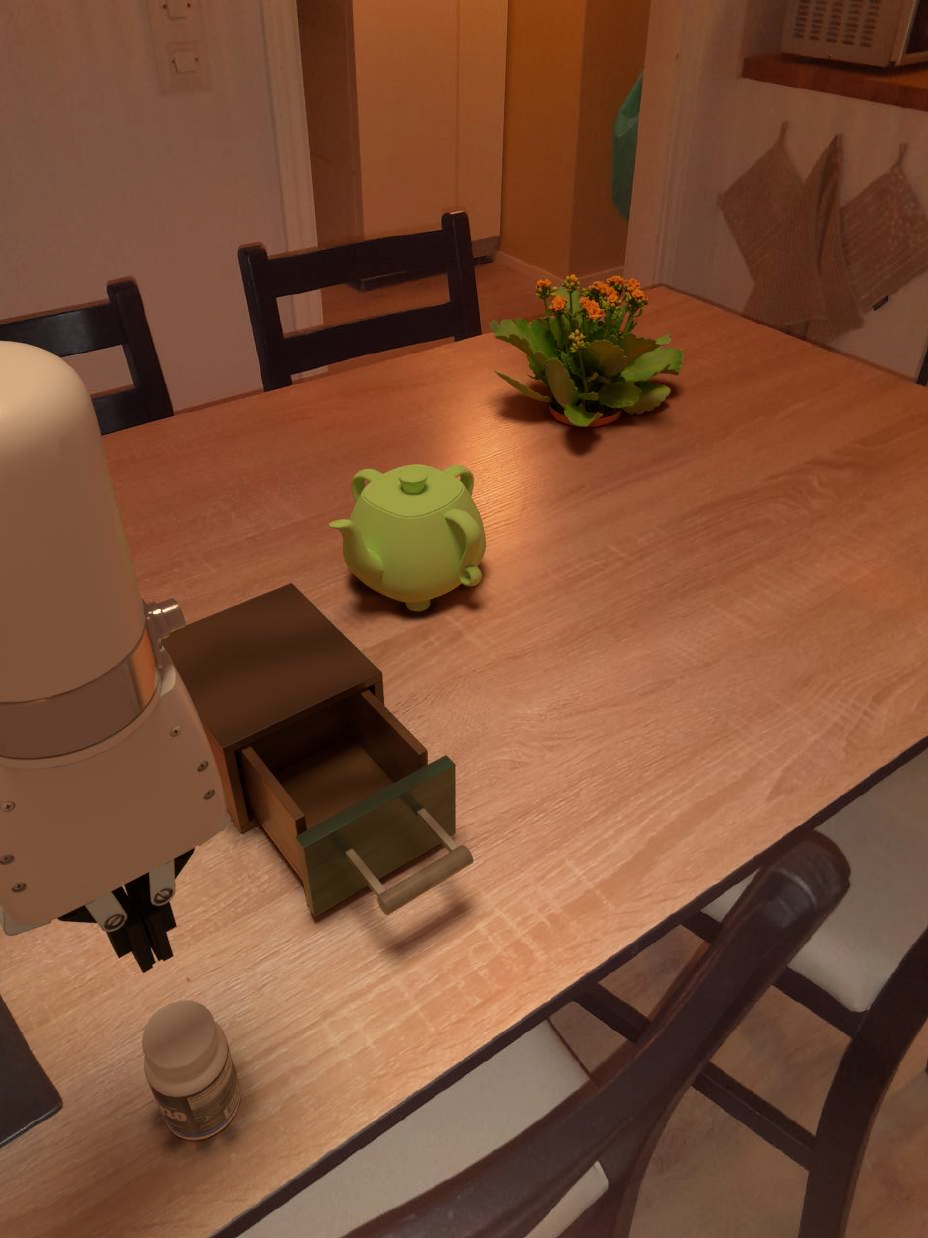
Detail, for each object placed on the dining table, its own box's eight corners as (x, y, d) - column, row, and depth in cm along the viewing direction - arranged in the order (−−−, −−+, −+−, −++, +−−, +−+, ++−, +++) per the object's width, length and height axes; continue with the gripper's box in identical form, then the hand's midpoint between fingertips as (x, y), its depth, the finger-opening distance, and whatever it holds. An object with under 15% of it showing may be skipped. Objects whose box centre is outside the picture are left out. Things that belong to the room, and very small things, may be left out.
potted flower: (651, 471, 118) (671, 334, 107) (467, 442, 124) (468, 309, 113) (680, 386, 137) (699, 262, 126) (519, 364, 143) (524, 243, 132)
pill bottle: (148, 1101, 59) (117, 1031, 54) (214, 1049, 62) (191, 977, 56) (190, 1160, 57) (162, 1092, 51) (257, 1103, 59) (237, 1033, 54)
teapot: (482, 633, 94) (485, 525, 86) (337, 630, 95) (327, 521, 87) (485, 540, 107) (488, 438, 99) (356, 537, 107) (349, 434, 99)
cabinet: (388, 757, 81) (382, 672, 75) (241, 834, 75) (222, 748, 69) (302, 664, 91) (291, 582, 85) (165, 726, 84) (142, 642, 78)
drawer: (502, 884, 71) (505, 814, 66) (357, 977, 65) (349, 908, 60) (362, 732, 82) (356, 663, 78) (229, 799, 77) (214, 729, 72)
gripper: (194, 560, 43) (247, 827, 55) (-181, 696, 36) (-29, 970, 47) (274, 649, 38) (314, 920, 50) (-138, 825, 31) (19, 1094, 43)
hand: (146, 944), depth 49 cm, fingers closed
